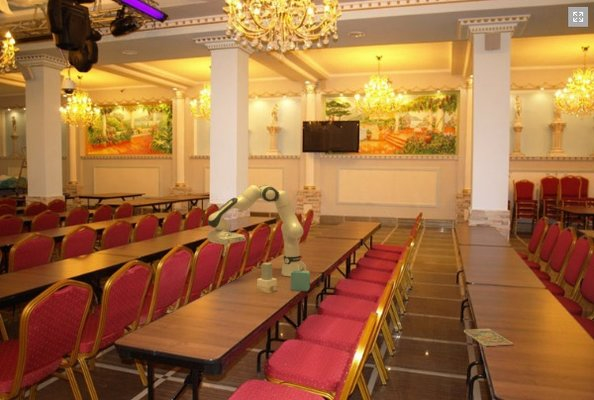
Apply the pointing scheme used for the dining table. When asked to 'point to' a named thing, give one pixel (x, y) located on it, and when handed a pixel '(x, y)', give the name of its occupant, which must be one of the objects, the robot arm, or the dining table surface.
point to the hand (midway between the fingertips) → (240, 240)
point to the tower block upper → (267, 282)
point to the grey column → (266, 271)
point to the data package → (300, 280)
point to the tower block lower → (266, 289)
